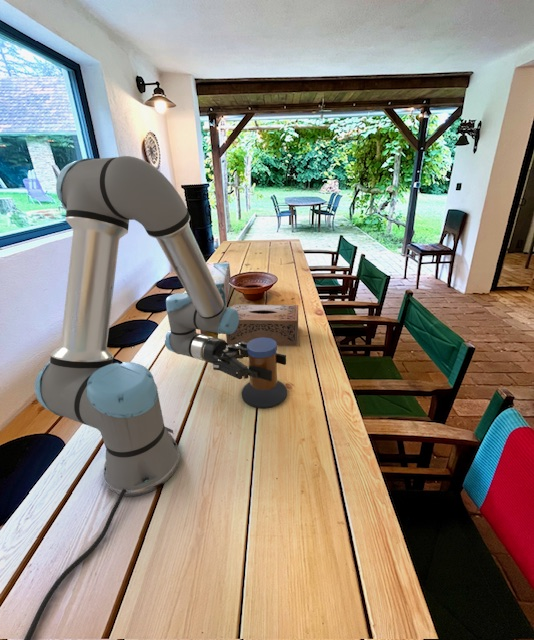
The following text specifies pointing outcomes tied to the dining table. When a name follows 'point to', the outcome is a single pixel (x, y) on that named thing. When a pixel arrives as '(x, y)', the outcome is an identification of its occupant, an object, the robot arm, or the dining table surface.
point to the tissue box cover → (266, 324)
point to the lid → (261, 347)
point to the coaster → (264, 396)
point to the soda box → (221, 278)
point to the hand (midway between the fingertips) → (278, 367)
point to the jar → (267, 364)
